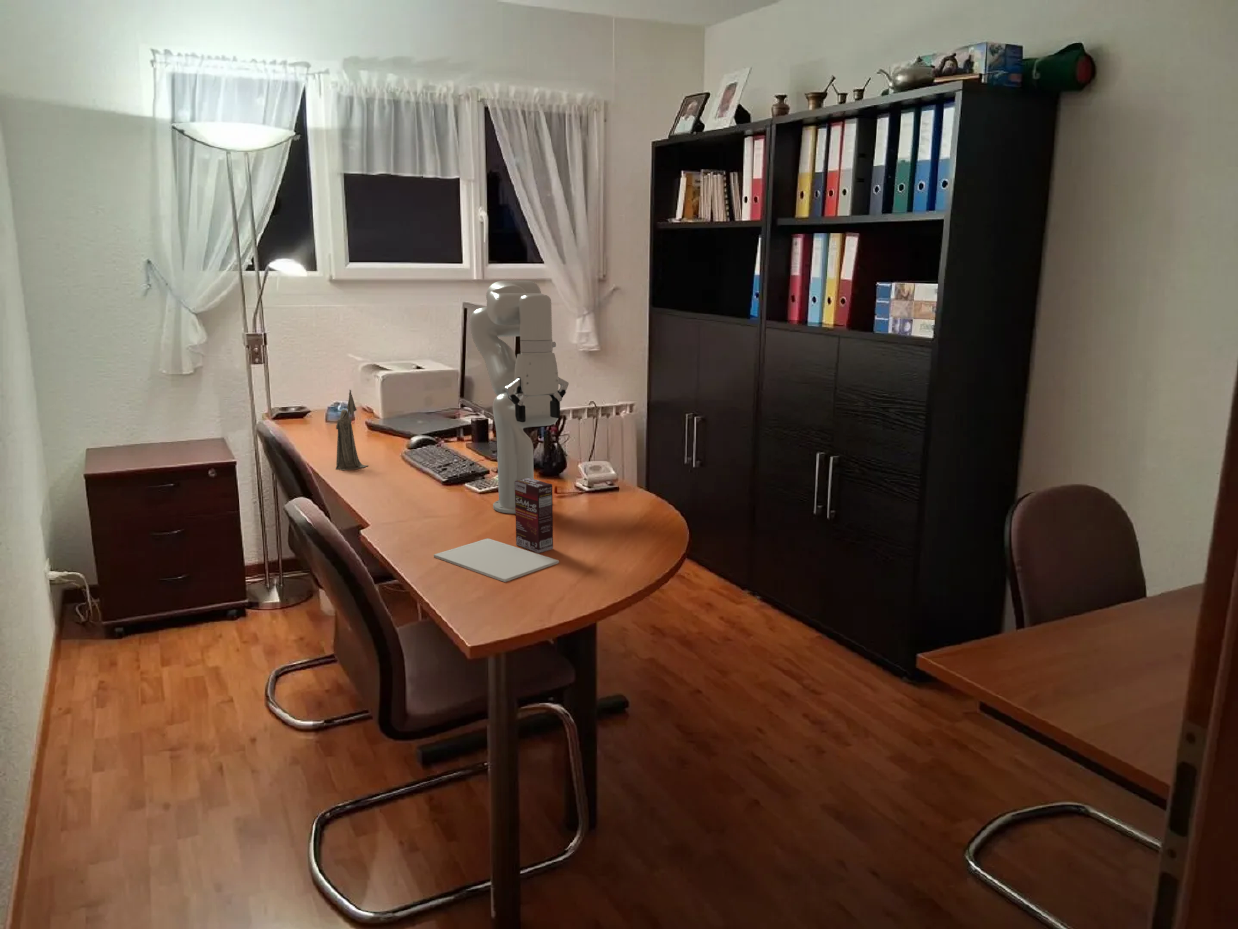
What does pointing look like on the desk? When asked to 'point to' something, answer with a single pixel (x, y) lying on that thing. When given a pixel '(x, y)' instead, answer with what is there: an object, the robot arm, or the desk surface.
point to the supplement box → (534, 515)
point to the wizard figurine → (347, 440)
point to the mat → (496, 559)
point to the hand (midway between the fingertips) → (538, 419)
